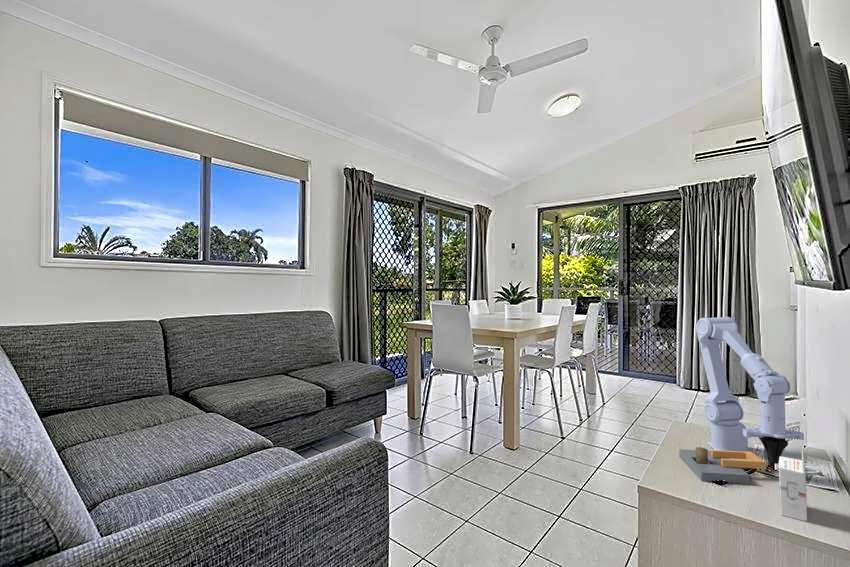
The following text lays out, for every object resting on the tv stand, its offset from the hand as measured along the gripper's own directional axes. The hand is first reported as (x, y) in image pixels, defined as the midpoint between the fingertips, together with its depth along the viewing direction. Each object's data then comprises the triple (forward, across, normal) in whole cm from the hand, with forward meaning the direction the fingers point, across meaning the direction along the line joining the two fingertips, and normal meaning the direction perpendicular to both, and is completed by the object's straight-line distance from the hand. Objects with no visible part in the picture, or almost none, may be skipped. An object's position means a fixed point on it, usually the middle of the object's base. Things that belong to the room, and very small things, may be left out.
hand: (773, 462), depth 121 cm
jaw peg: (+3, -19, 0) cm, 19 cm away
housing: (+3, -16, 0) cm, 17 cm away
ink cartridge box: (+3, -7, -21) cm, 22 cm away
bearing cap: (+1, -9, 0) cm, 9 cm away
